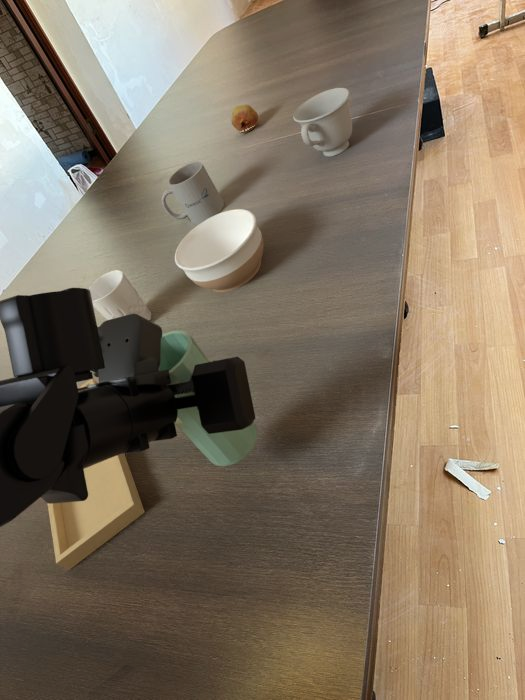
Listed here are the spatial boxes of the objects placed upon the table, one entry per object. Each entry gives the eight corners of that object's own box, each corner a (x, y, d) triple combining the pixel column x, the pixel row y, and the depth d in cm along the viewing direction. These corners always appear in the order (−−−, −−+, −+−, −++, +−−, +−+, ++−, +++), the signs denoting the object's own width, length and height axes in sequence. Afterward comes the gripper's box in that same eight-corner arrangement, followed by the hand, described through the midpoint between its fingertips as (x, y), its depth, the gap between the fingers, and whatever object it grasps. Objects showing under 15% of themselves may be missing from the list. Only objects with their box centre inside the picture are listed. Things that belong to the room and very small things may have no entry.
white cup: (161, 309, 93) (130, 269, 86) (138, 340, 89) (104, 301, 82) (134, 307, 97) (103, 270, 91) (111, 337, 94) (77, 300, 87)
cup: (255, 460, 54) (183, 372, 45) (201, 471, 56) (123, 389, 47) (260, 411, 59) (196, 323, 50) (210, 423, 61) (141, 340, 52)
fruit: (226, 109, 136) (225, 122, 128) (246, 92, 133) (245, 105, 125) (242, 129, 139) (242, 143, 132) (261, 113, 136) (262, 126, 129)
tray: (145, 512, 62) (134, 504, 61) (69, 570, 61) (56, 563, 60) (101, 385, 85) (92, 377, 83) (44, 426, 84) (34, 419, 82)
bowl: (215, 248, 99) (195, 216, 94) (285, 237, 91) (267, 201, 86) (183, 306, 90) (159, 274, 85) (257, 298, 82) (236, 262, 77)
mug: (226, 195, 113) (205, 156, 107) (221, 216, 108) (198, 176, 101) (181, 212, 118) (158, 175, 111) (173, 233, 112) (149, 196, 106)
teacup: (294, 176, 105) (276, 133, 99) (324, 136, 112) (308, 93, 105) (344, 171, 98) (327, 124, 91) (372, 129, 104) (359, 82, 98)
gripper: (181, 297, 36) (264, 301, 50) (3, 344, 43) (120, 336, 57) (211, 448, 36) (285, 409, 50) (27, 470, 43) (138, 430, 57)
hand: (201, 392), depth 54 cm, fingers closed on cup, 7 cm apart
